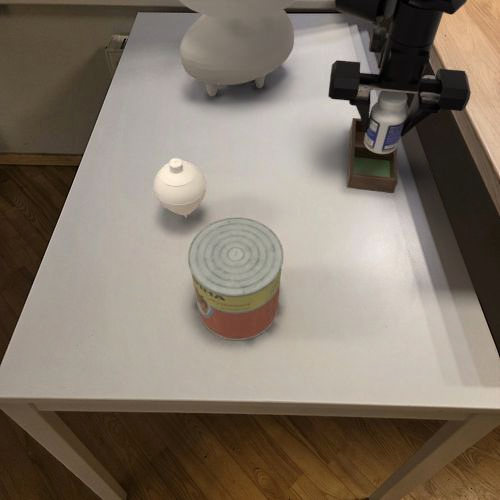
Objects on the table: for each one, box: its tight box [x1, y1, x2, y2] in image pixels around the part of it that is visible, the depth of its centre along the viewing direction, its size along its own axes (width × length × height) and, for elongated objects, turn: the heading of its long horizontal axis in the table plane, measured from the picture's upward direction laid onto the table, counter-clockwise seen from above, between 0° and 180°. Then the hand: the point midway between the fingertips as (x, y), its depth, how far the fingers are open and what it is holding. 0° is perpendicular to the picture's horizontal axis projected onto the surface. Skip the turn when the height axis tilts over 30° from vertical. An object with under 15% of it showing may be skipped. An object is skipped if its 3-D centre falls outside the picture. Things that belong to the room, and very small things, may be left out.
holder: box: [346, 117, 399, 194], centre depth 78 cm, size 8×15×3 cm, turn 171°
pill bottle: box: [364, 90, 408, 154], centre depth 68 cm, size 5×5×9 cm
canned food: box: [187, 217, 284, 342], centre depth 58 cm, size 11×11×12 cm
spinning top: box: [153, 157, 207, 219], centre depth 67 cm, size 8×8×12 cm
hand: (383, 132), depth 70 cm, fingers closed on pill bottle, 5 cm apart
